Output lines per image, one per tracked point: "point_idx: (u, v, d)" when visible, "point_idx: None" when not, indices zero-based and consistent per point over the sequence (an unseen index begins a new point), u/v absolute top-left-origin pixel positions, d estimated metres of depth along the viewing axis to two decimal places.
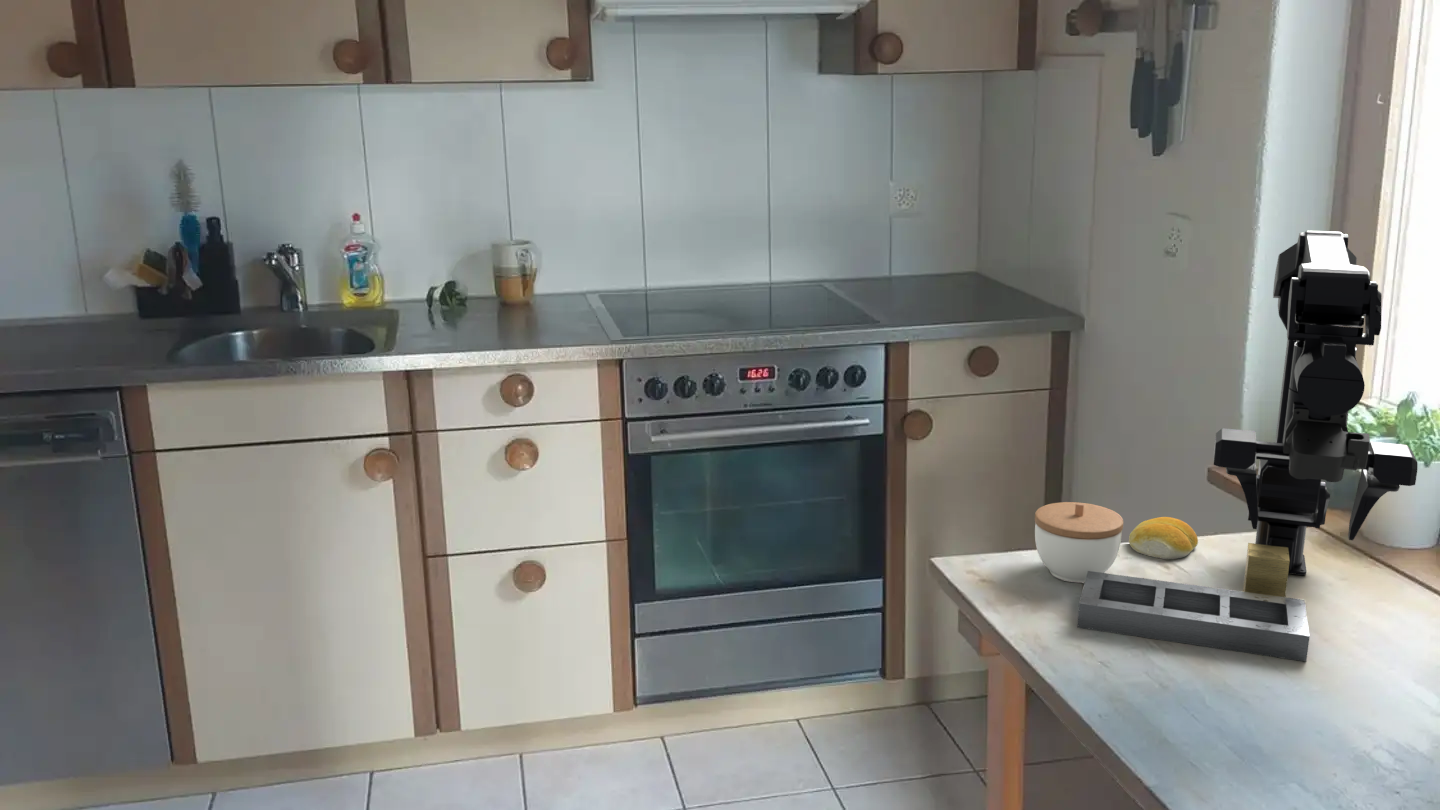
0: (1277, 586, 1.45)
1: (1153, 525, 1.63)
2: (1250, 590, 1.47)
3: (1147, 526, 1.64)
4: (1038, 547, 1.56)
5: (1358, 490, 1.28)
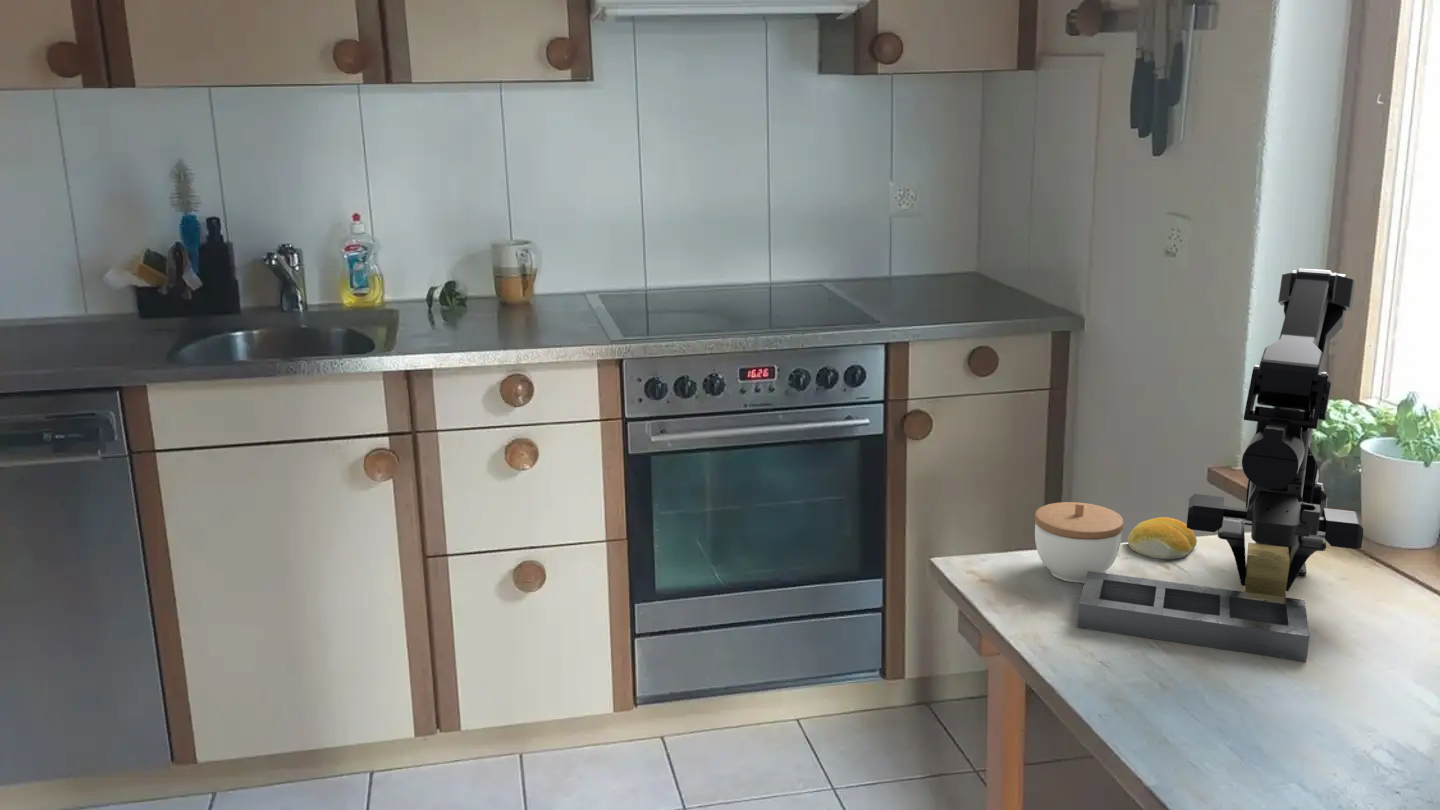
0: (1277, 586, 1.45)
1: (1152, 525, 1.63)
2: (1250, 589, 1.47)
3: (1146, 526, 1.64)
4: (1038, 547, 1.56)
5: (1292, 548, 1.47)
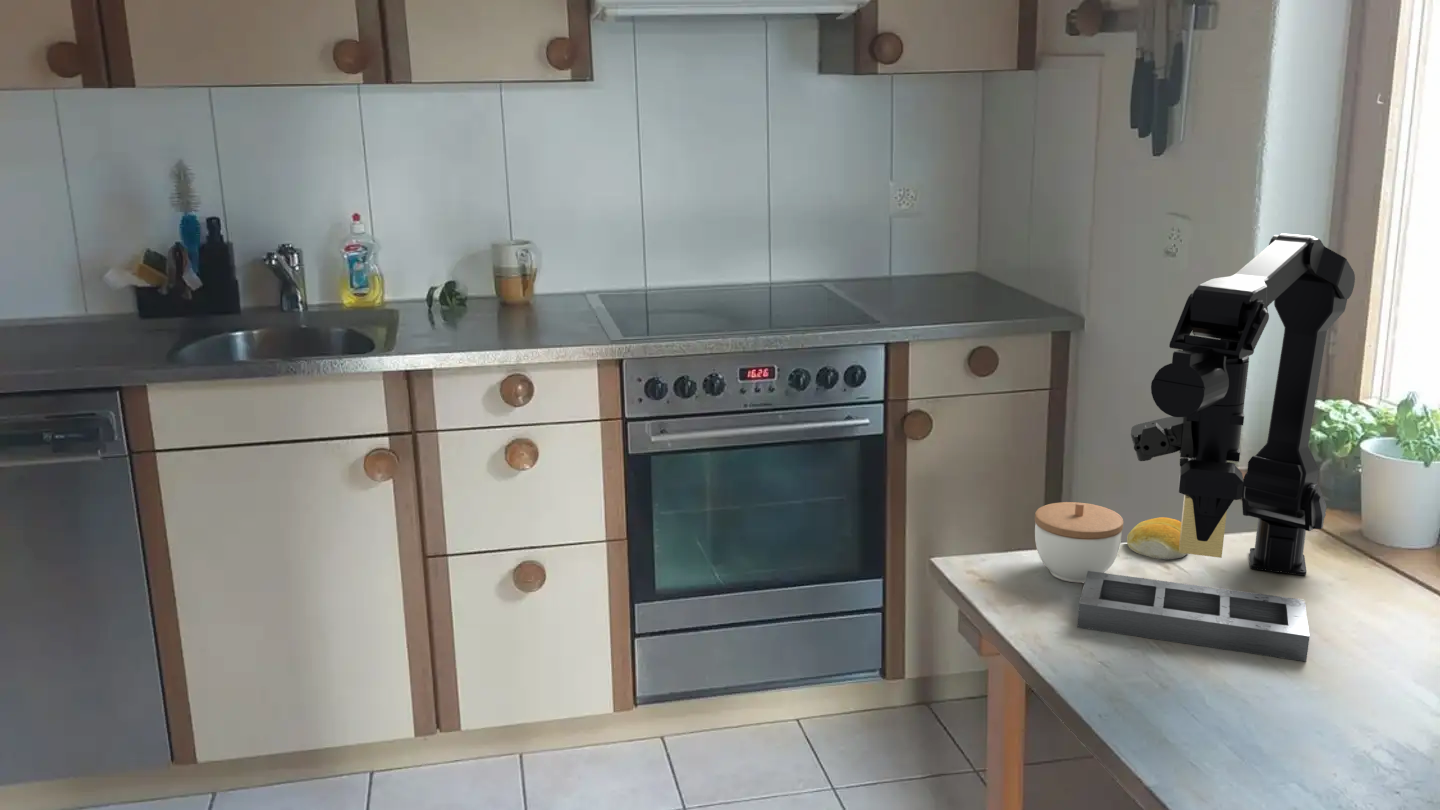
0: None
1: (1151, 525, 1.63)
2: (1181, 523, 1.42)
3: (1145, 526, 1.64)
4: (1038, 547, 1.56)
5: None
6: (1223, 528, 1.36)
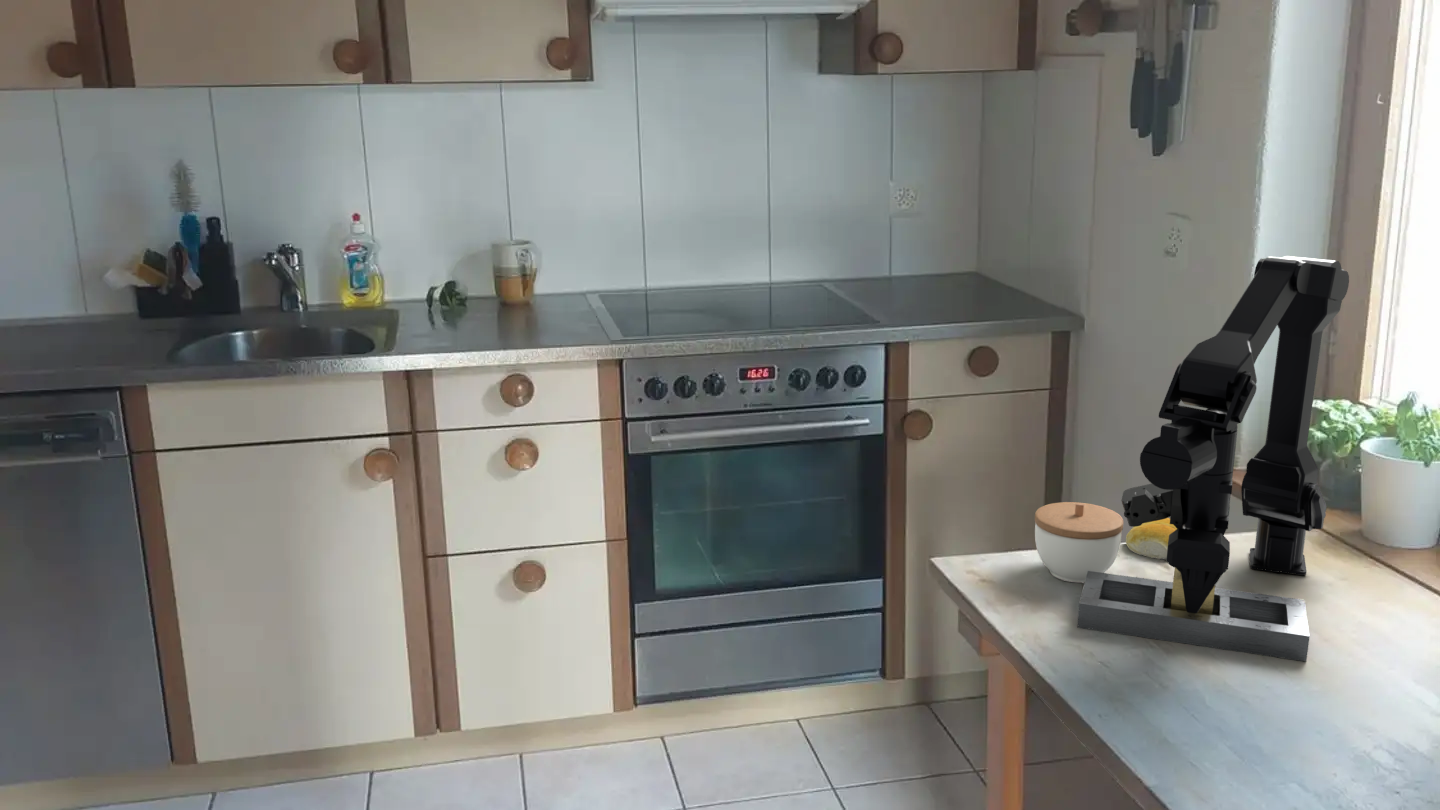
0: None
1: (1150, 525, 1.63)
2: None
3: (1144, 526, 1.64)
4: (1038, 547, 1.56)
5: None
6: (1211, 608, 1.39)
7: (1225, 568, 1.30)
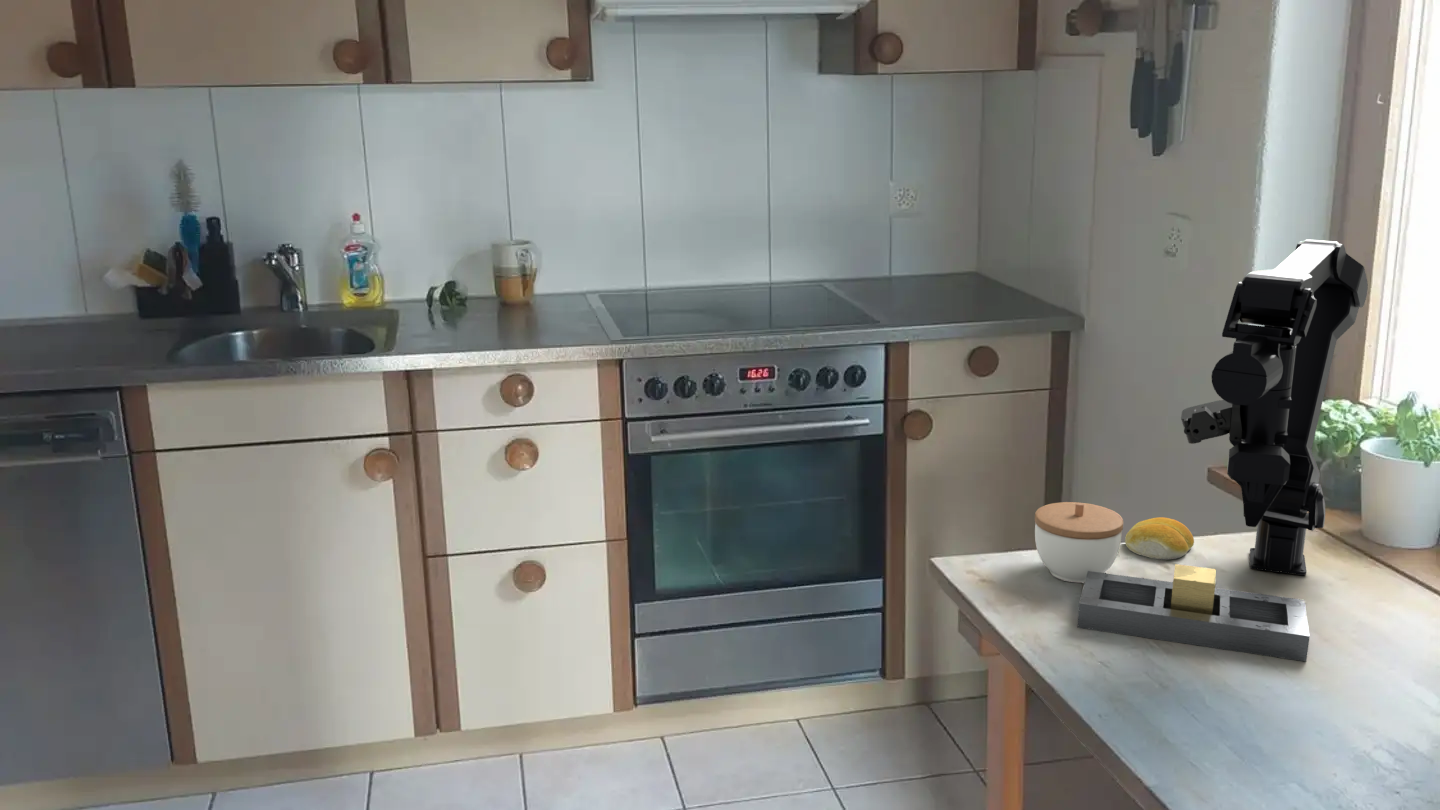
0: None
1: (1149, 525, 1.63)
2: None
3: (1143, 526, 1.64)
4: (1038, 547, 1.56)
5: None
6: (1211, 608, 1.39)
7: (1286, 479, 1.34)
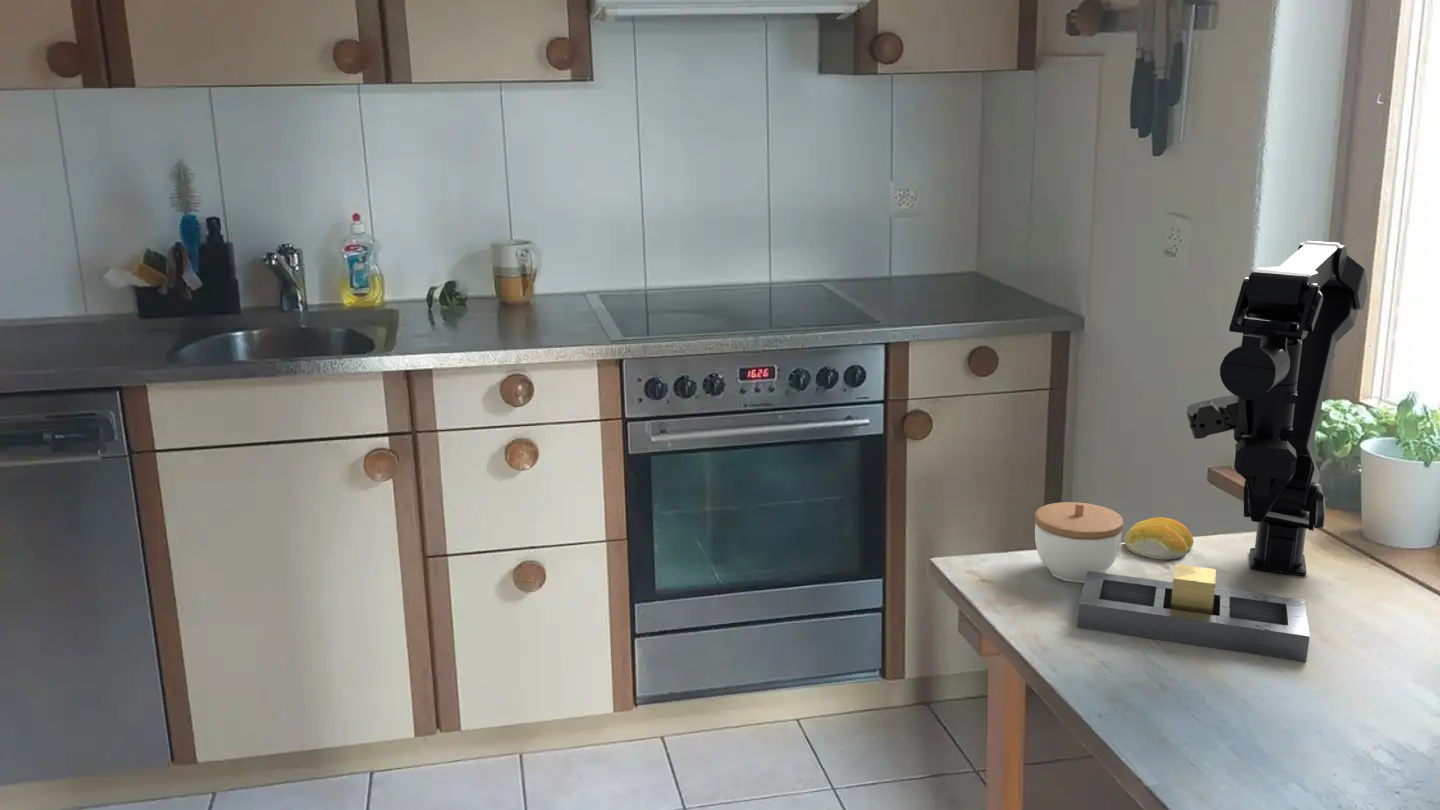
0: None
1: (1149, 526, 1.63)
2: None
3: (1143, 527, 1.64)
4: (1038, 547, 1.56)
5: None
6: (1211, 608, 1.39)
7: (1292, 473, 1.34)
